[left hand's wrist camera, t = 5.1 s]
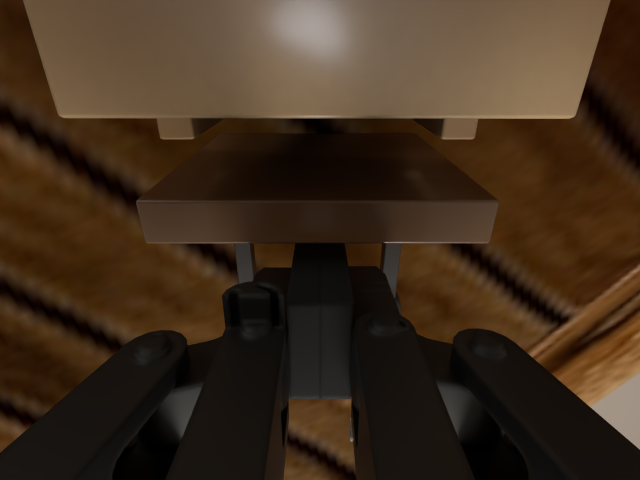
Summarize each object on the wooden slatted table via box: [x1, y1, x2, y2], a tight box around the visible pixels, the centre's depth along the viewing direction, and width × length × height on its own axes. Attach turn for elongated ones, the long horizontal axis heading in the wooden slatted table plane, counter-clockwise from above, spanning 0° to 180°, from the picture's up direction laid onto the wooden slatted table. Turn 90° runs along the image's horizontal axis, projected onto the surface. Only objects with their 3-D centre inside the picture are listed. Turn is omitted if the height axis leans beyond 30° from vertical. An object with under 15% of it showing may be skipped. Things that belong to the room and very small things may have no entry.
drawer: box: [136, 118, 499, 315], centre depth 11 cm, size 22×9×9 cm, turn 0°
